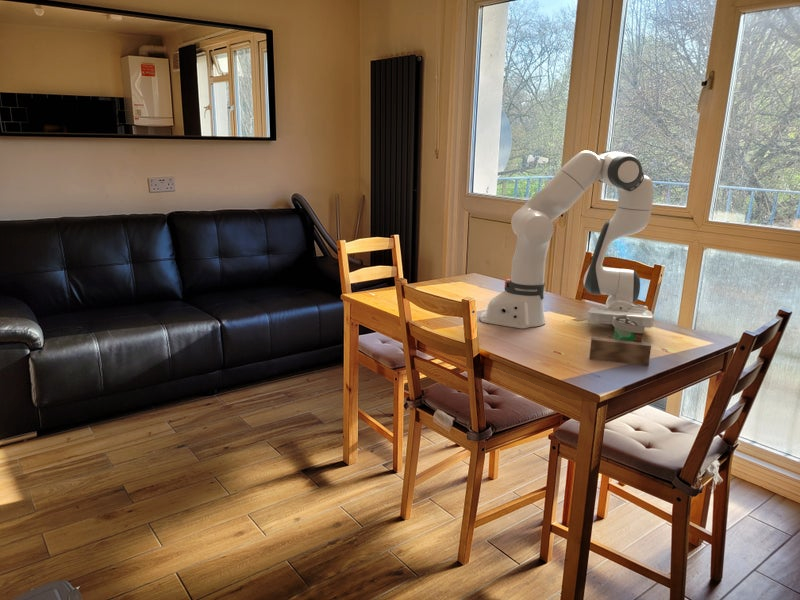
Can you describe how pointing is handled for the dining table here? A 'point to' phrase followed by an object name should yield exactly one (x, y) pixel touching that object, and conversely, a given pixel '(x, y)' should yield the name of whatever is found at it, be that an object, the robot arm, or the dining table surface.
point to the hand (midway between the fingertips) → (621, 324)
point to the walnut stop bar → (620, 351)
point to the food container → (627, 329)
